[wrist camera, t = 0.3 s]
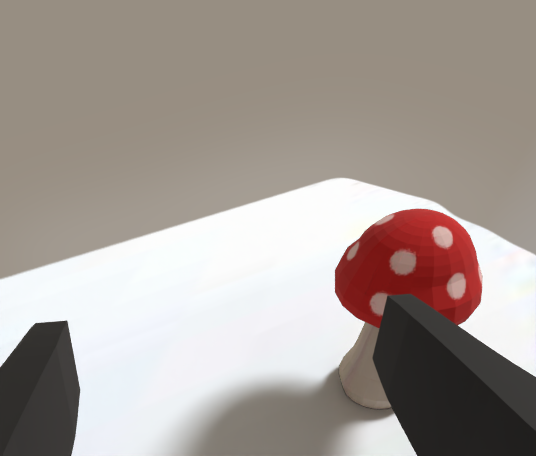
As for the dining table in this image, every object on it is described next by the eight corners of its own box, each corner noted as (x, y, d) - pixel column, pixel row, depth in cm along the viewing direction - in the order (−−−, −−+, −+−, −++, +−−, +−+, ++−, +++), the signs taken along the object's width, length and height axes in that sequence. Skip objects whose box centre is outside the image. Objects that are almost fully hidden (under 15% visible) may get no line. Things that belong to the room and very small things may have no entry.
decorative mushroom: (355, 453, 31) (404, 276, 23) (296, 359, 38) (318, 195, 29) (467, 405, 35) (543, 238, 27) (396, 327, 41) (440, 174, 33)
